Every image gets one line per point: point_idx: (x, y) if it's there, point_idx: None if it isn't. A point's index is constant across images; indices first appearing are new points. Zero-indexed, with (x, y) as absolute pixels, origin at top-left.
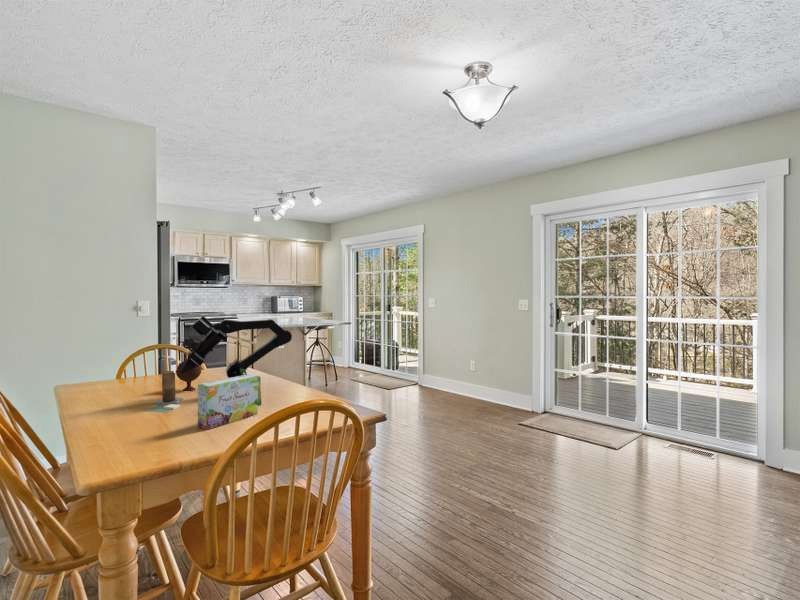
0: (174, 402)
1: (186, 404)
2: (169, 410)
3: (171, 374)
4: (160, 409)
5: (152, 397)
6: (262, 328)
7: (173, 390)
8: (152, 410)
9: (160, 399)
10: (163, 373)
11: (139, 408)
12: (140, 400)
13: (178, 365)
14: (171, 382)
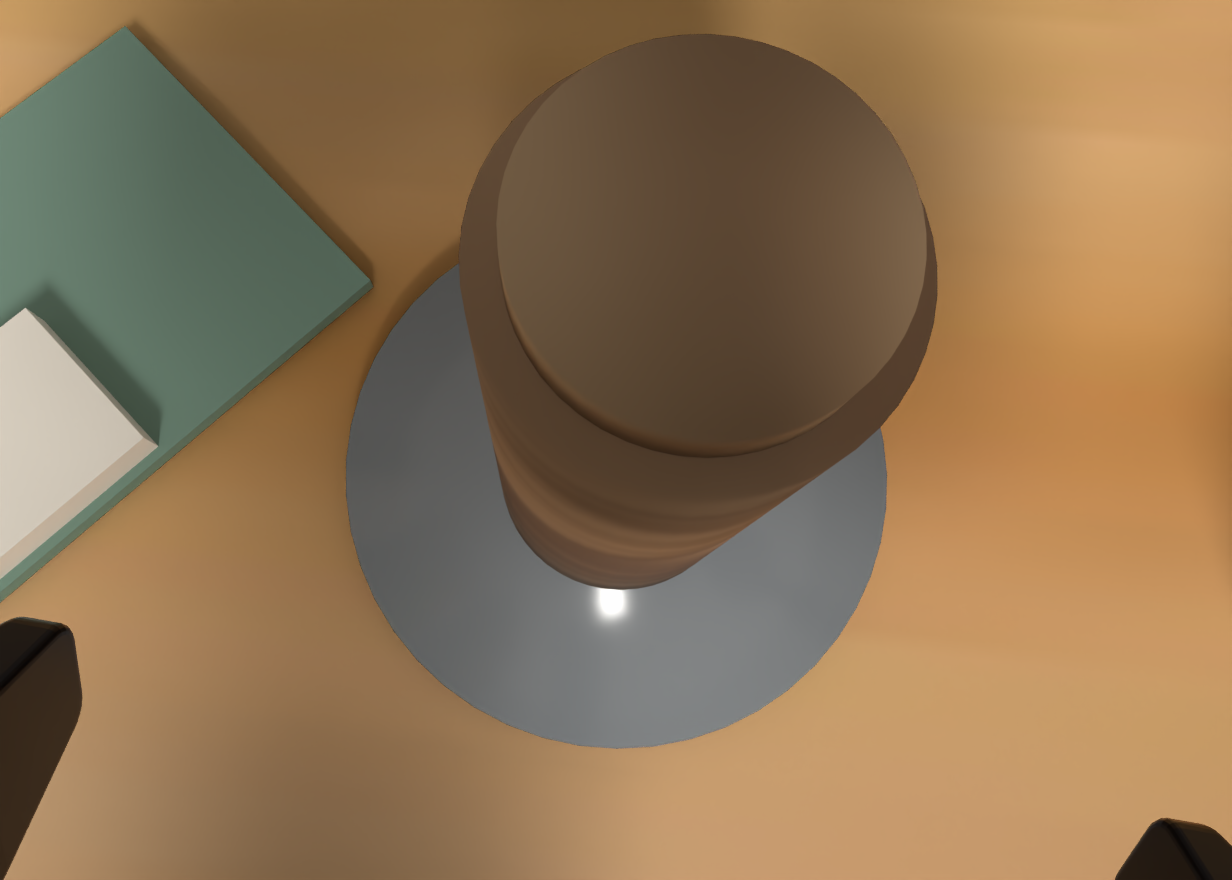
0: (391, 543)
1: (202, 750)
2: None
3: (476, 343)
4: (31, 265)
5: (1189, 264)
6: None
7: (522, 512)
8: (57, 147)
9: None
10: (634, 64)
11: (445, 11)
12: (1047, 76)
13: None
14: (488, 416)
